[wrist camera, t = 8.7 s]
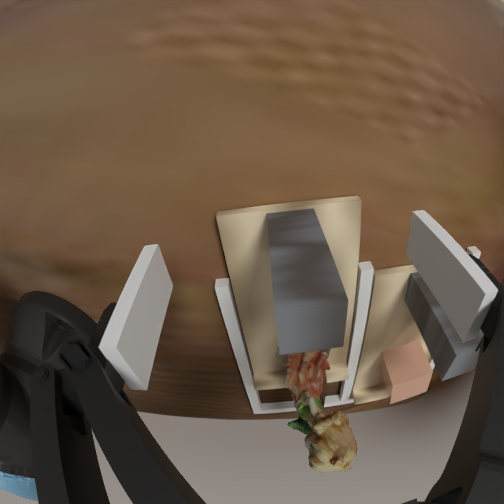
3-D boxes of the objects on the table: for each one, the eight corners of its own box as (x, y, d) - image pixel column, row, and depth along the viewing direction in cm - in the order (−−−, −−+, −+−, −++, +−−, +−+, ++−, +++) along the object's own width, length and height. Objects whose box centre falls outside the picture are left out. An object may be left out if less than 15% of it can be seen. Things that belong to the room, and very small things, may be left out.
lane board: (254, 407, 40) (254, 414, 39) (215, 279, 27) (214, 287, 26) (421, 379, 38) (423, 385, 37) (475, 245, 24) (480, 252, 23)
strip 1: (255, 374, 35) (255, 454, 26) (217, 211, 23) (193, 312, 14) (343, 363, 34) (359, 441, 25) (357, 195, 22) (419, 285, 13)
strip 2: (350, 390, 38) (363, 457, 29) (372, 270, 26) (415, 366, 17) (417, 375, 37) (438, 435, 28) (463, 256, 25) (518, 330, 16)
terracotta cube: (380, 372, 34) (390, 403, 30) (381, 351, 31) (392, 385, 27) (415, 361, 33) (426, 391, 29) (418, 339, 31) (432, 371, 26)
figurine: (277, 325, 30) (288, 467, 17) (347, 325, 30) (382, 455, 17) (269, 374, 35) (273, 488, 22) (328, 373, 35) (346, 481, 22)
